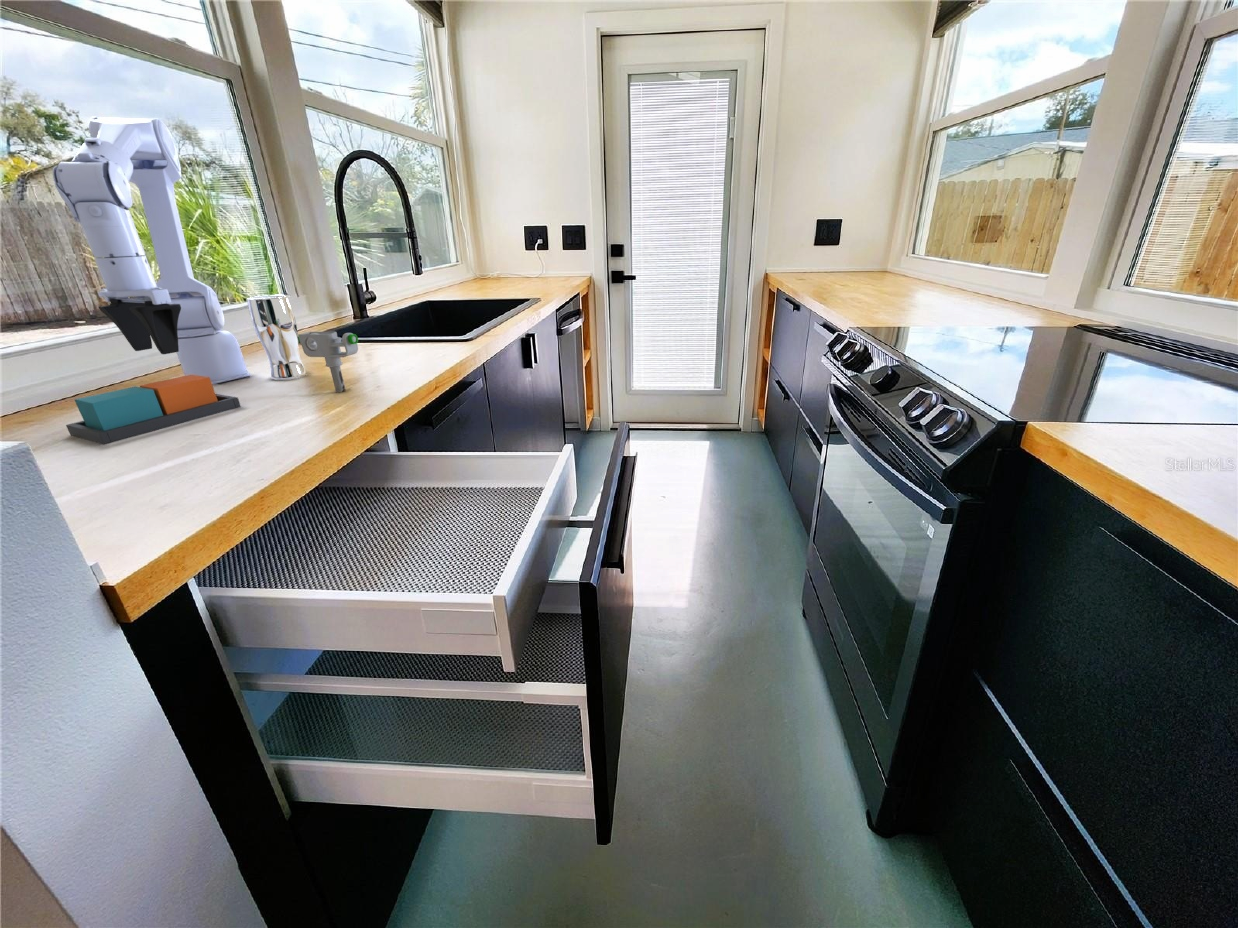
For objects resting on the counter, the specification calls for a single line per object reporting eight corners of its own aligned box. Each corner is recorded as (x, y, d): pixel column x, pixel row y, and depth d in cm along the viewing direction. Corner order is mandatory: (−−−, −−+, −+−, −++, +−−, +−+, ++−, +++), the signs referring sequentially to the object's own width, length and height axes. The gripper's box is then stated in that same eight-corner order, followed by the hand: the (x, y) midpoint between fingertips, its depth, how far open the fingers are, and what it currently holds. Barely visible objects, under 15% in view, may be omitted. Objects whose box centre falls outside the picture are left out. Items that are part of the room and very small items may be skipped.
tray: (207, 403, 89) (203, 391, 88) (242, 409, 85) (237, 397, 84) (71, 438, 74) (65, 424, 74) (105, 447, 70) (99, 433, 69)
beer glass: (267, 383, 100) (242, 299, 94) (270, 375, 106) (247, 296, 100) (309, 377, 103) (287, 296, 97) (310, 370, 109) (289, 293, 103)
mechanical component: (361, 394, 90) (347, 334, 86) (309, 393, 92) (293, 334, 88) (372, 389, 93) (359, 331, 89) (321, 388, 95) (306, 331, 91)
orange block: (202, 404, 86) (191, 374, 84) (220, 408, 84) (209, 377, 82) (152, 418, 80) (139, 385, 78) (170, 421, 78) (157, 388, 76)
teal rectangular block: (148, 418, 80) (135, 386, 78) (166, 422, 78) (153, 389, 76) (89, 434, 74) (73, 399, 72) (107, 438, 72) (91, 403, 70)
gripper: (61, 259, 77) (101, 353, 82) (112, 258, 71) (151, 360, 76) (120, 256, 82) (154, 344, 88) (171, 255, 76) (204, 350, 82)
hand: (156, 351), depth 82 cm, fingers open, 7 cm apart
